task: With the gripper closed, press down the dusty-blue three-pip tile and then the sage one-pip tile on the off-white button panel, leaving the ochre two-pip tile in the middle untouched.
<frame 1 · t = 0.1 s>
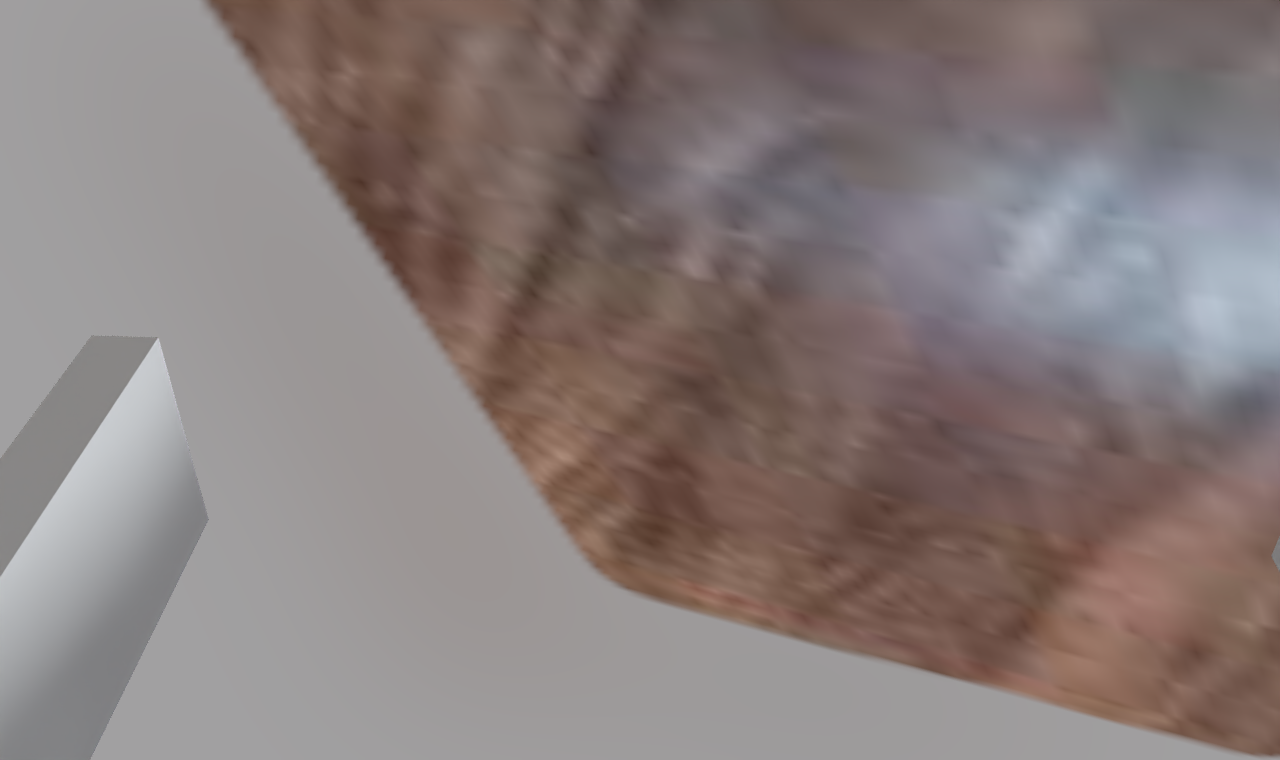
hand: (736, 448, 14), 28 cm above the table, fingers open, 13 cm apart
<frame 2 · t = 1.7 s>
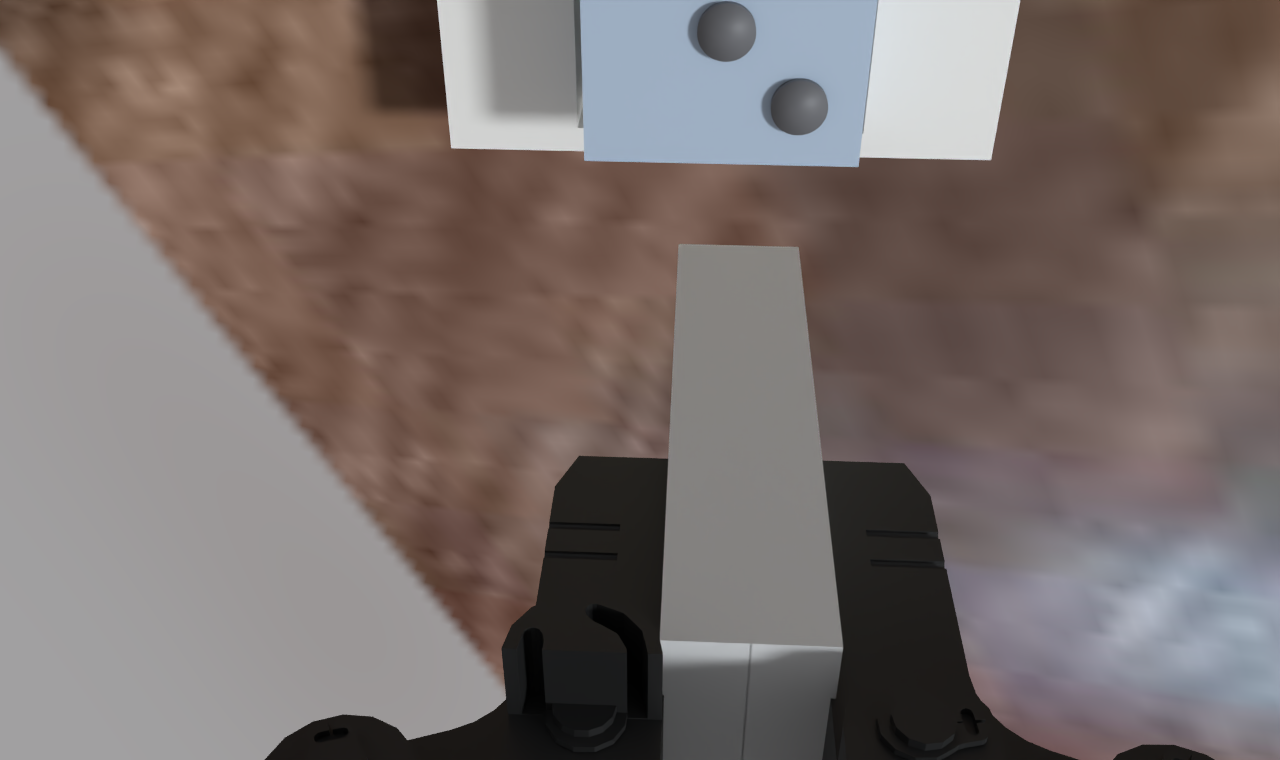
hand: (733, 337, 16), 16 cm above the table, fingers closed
tile three: (726, 10, 26), point 4 cm above the table, slide at 0.0 cm
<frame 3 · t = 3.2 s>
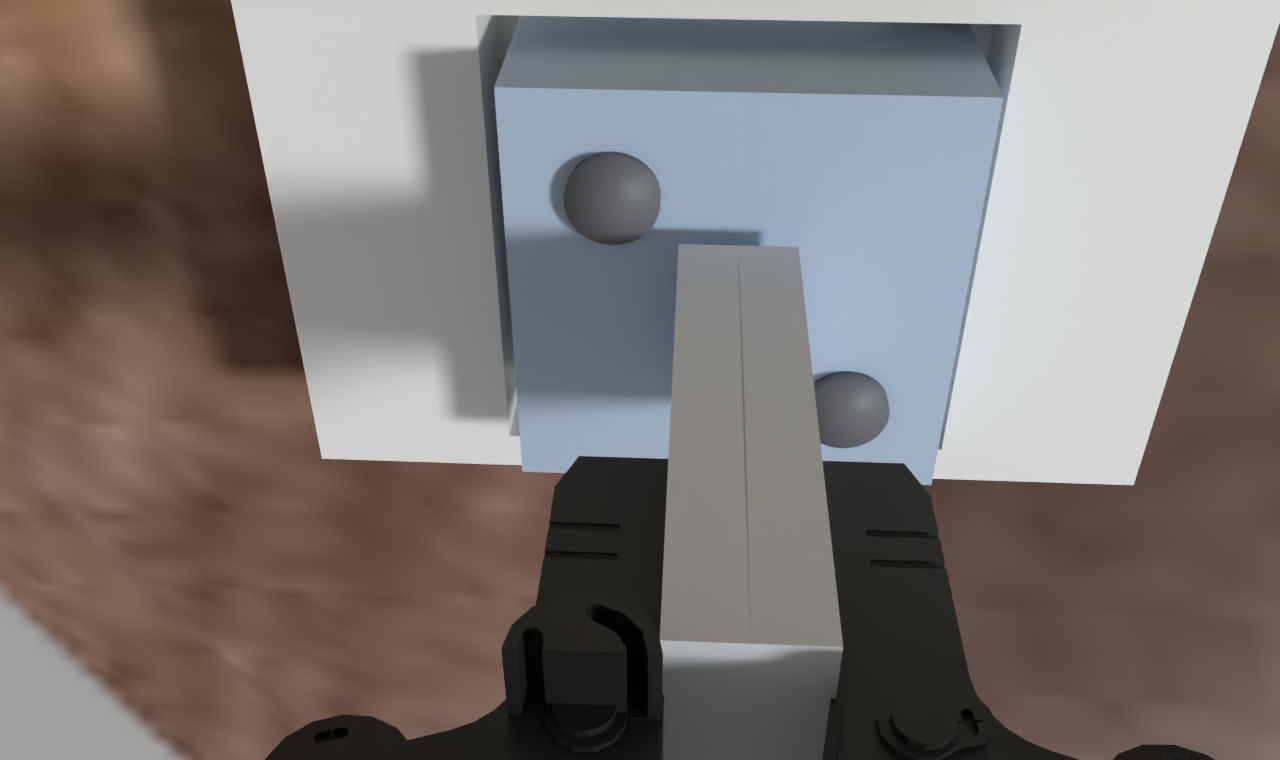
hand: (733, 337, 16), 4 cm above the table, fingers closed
tile three: (733, 261, 17), point 3 cm above the table, slide at 1.3 cm
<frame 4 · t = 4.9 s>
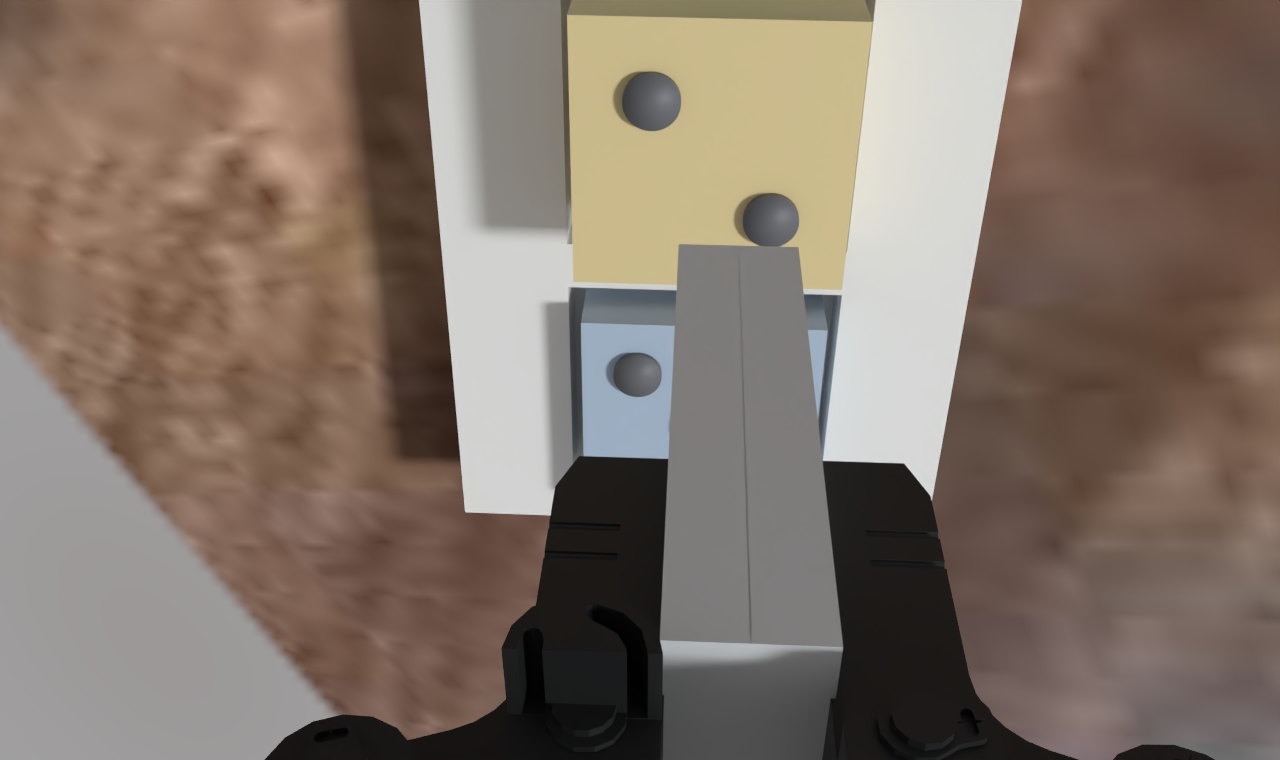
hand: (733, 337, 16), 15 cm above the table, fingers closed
tile two: (712, 139, 27), point 4 cm above the table, slide at 0.0 cm
tile three: (699, 401, 32), point 2 cm above the table, slide at 1.6 cm
panel: (711, 76, 30), on the table
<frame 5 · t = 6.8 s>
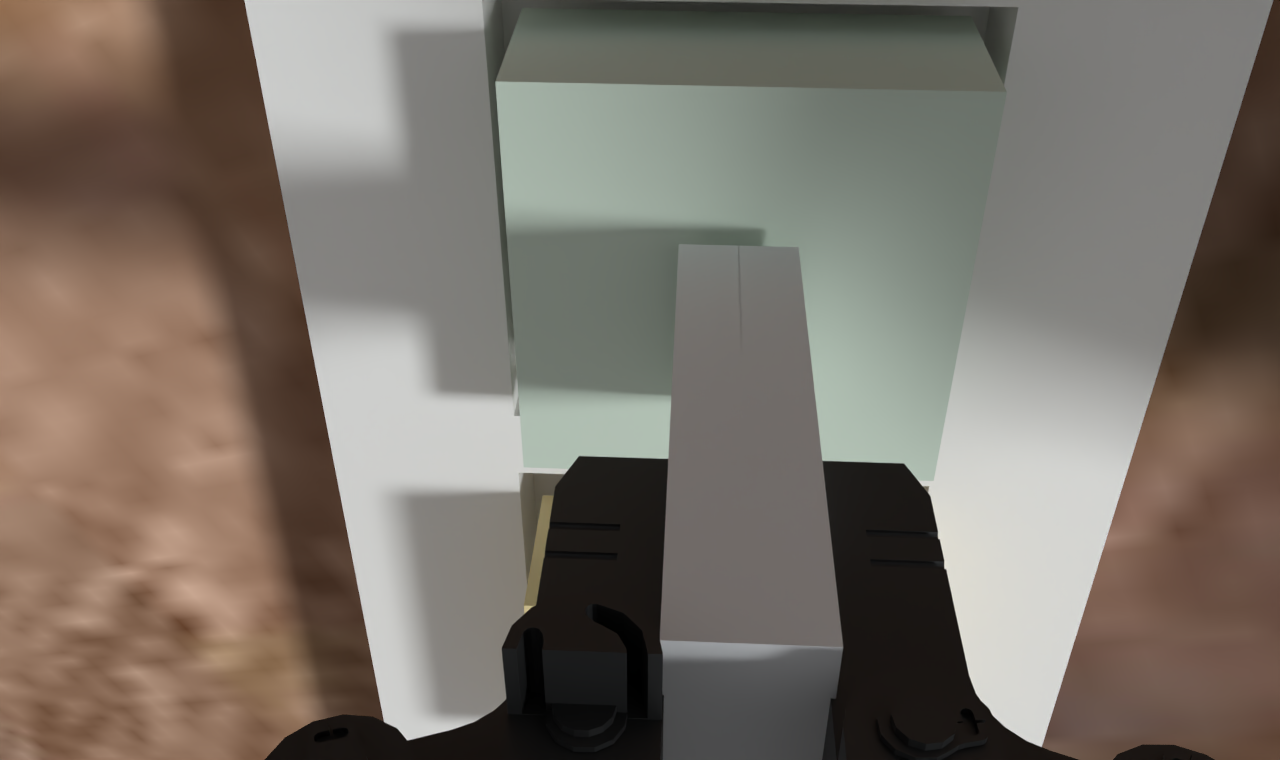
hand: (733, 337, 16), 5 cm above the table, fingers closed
tile two: (714, 683, 21), point 4 cm above the table, slide at 0.0 cm
panel: (715, 526, 24), on the table
tile one: (735, 257, 17), point 3 cm above the table, slide at 0.9 cm, touching gripper
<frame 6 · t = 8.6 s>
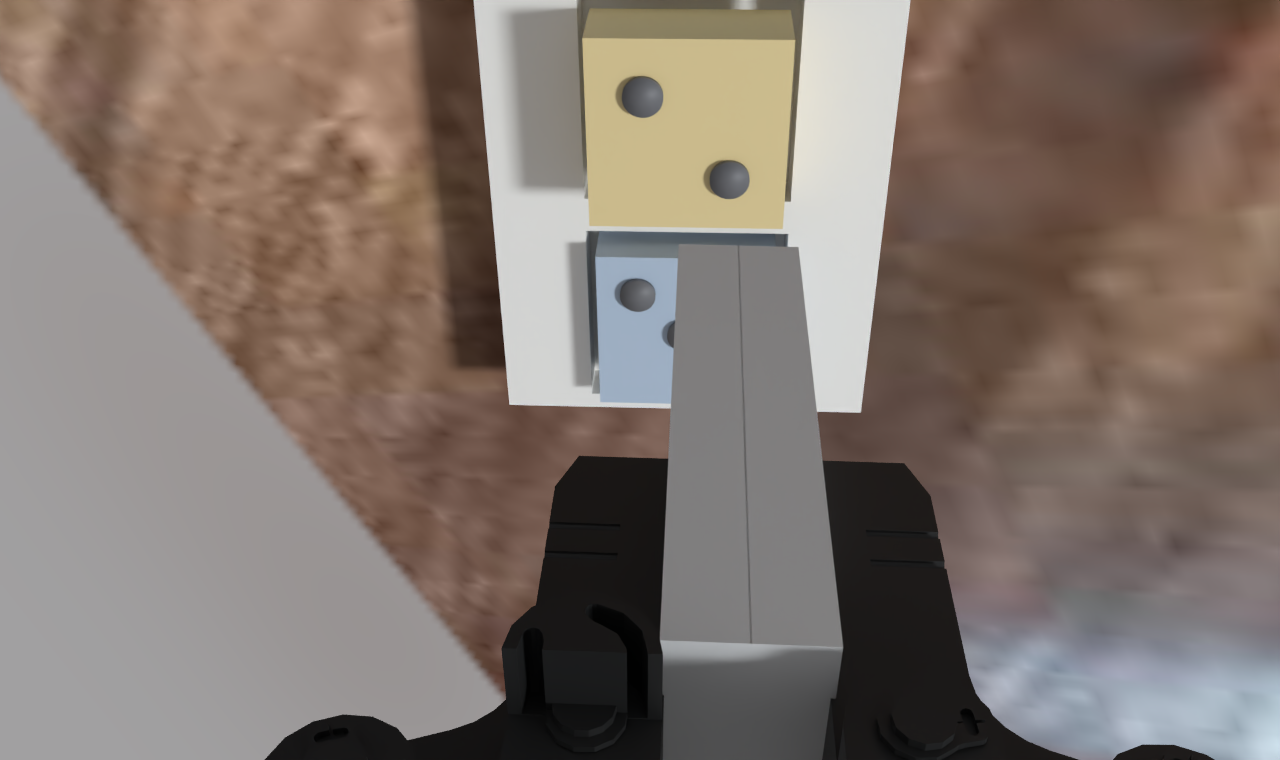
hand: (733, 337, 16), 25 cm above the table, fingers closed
tile two: (687, 121, 37), point 4 cm above the table, slide at 0.0 cm
tile three: (685, 316, 43), point 2 cm above the table, slide at 1.6 cm
panel: (689, 72, 40), on the table
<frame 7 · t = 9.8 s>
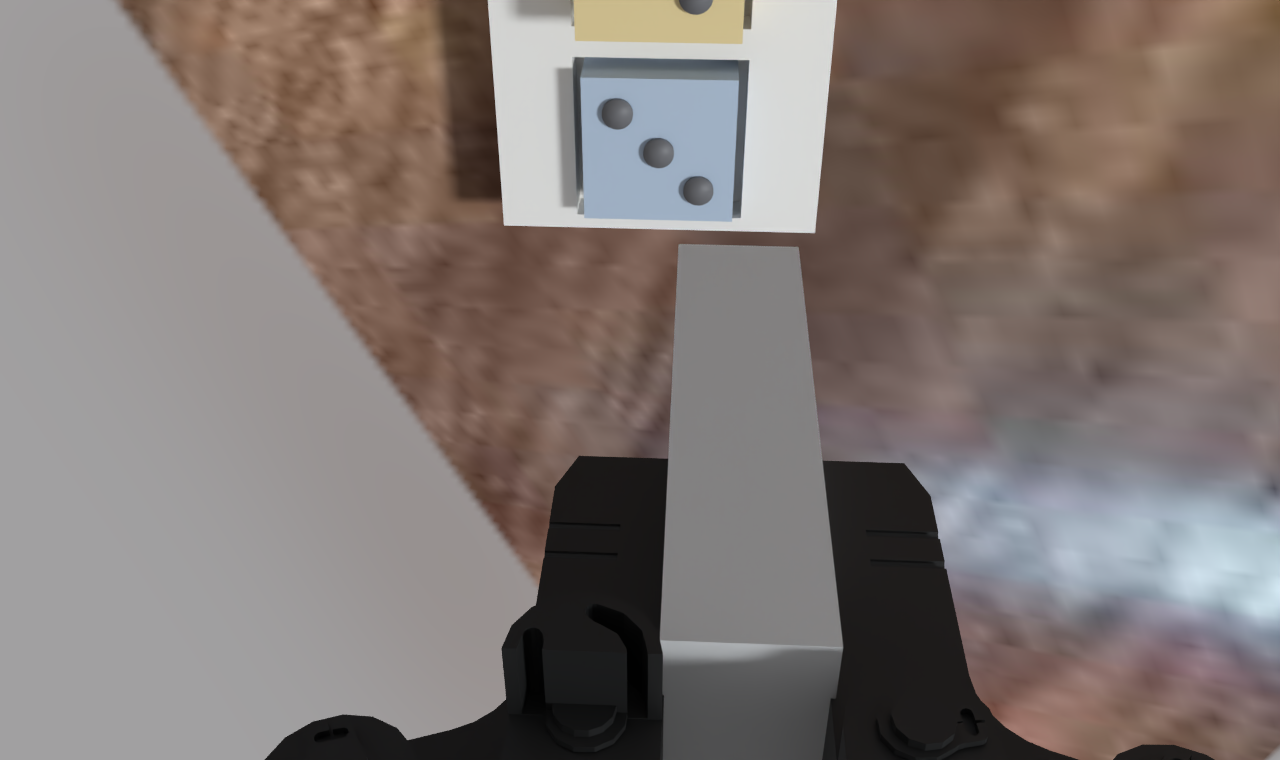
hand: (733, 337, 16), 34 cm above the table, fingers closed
tile three: (659, 139, 49), point 2 cm above the table, slide at 1.6 cm
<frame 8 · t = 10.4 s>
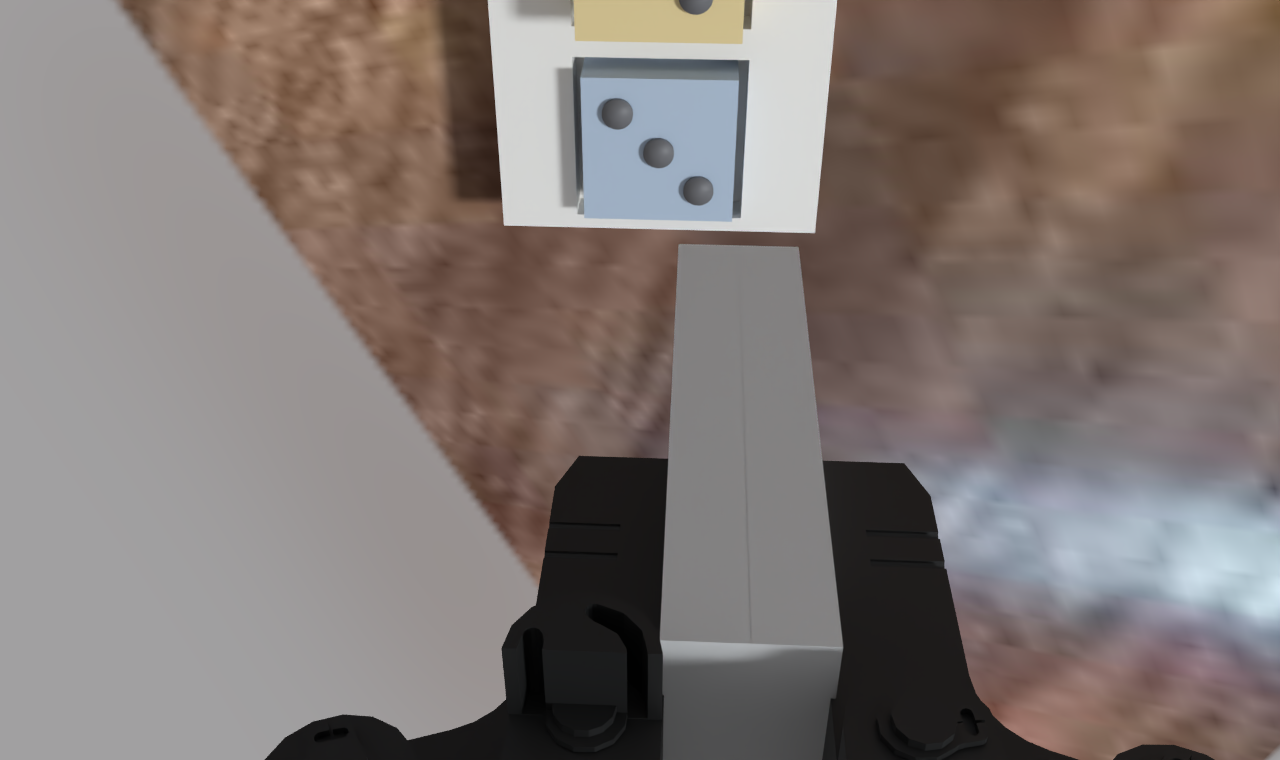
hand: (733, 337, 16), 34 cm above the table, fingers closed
tile three: (659, 139, 49), point 2 cm above the table, slide at 1.6 cm
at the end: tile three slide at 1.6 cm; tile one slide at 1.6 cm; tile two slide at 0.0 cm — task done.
